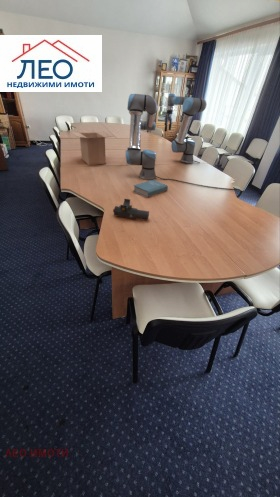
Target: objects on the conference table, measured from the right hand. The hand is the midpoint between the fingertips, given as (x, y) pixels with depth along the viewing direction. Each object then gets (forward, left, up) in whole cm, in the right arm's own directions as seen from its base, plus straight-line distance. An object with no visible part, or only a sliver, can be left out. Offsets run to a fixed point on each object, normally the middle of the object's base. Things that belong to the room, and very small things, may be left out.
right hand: (167, 130), depth 265 cm
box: (+87, +42, -27) cm, 100 cm away
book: (+36, +123, -27) cm, 131 cm away
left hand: (+40, +32, -23) cm, 56 cm away
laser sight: (+55, +167, -27) cm, 178 cm away
